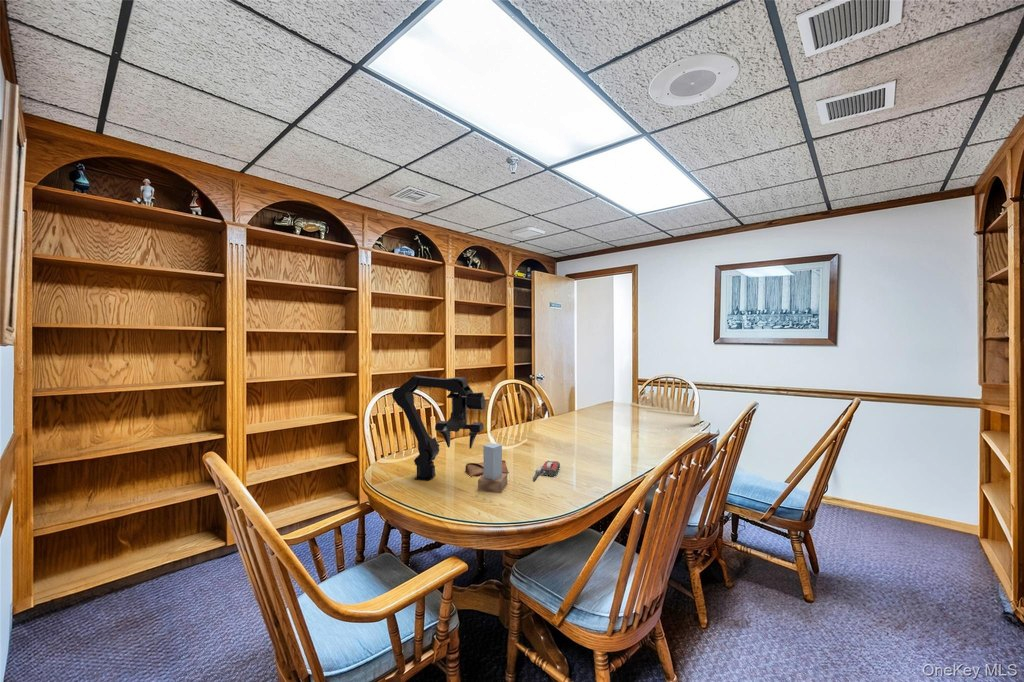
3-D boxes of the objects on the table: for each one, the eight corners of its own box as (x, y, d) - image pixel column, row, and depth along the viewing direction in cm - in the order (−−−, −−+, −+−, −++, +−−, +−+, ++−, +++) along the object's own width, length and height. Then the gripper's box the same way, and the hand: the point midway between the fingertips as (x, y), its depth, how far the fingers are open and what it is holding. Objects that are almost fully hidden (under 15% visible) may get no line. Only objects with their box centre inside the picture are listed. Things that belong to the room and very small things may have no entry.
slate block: (483, 477, 151) (483, 445, 150) (492, 473, 155) (492, 442, 154) (493, 480, 148) (493, 448, 147) (502, 476, 151) (501, 445, 151)
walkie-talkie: (541, 466, 176) (531, 482, 157) (541, 456, 176) (530, 471, 157) (560, 467, 174) (552, 484, 155) (560, 457, 174) (552, 473, 154)
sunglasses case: (468, 477, 161) (467, 461, 164) (466, 481, 167) (464, 465, 170) (511, 473, 166) (508, 457, 169) (507, 476, 172) (505, 461, 175)
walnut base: (478, 490, 148) (478, 479, 148) (485, 481, 157) (485, 471, 157) (501, 492, 146) (501, 481, 146) (507, 483, 154) (507, 473, 154)
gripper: (428, 412, 152) (429, 452, 153) (474, 413, 148) (475, 455, 148) (440, 406, 163) (441, 444, 163) (483, 408, 159) (484, 447, 159)
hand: (459, 447), depth 158 cm, fingers open, 9 cm apart
